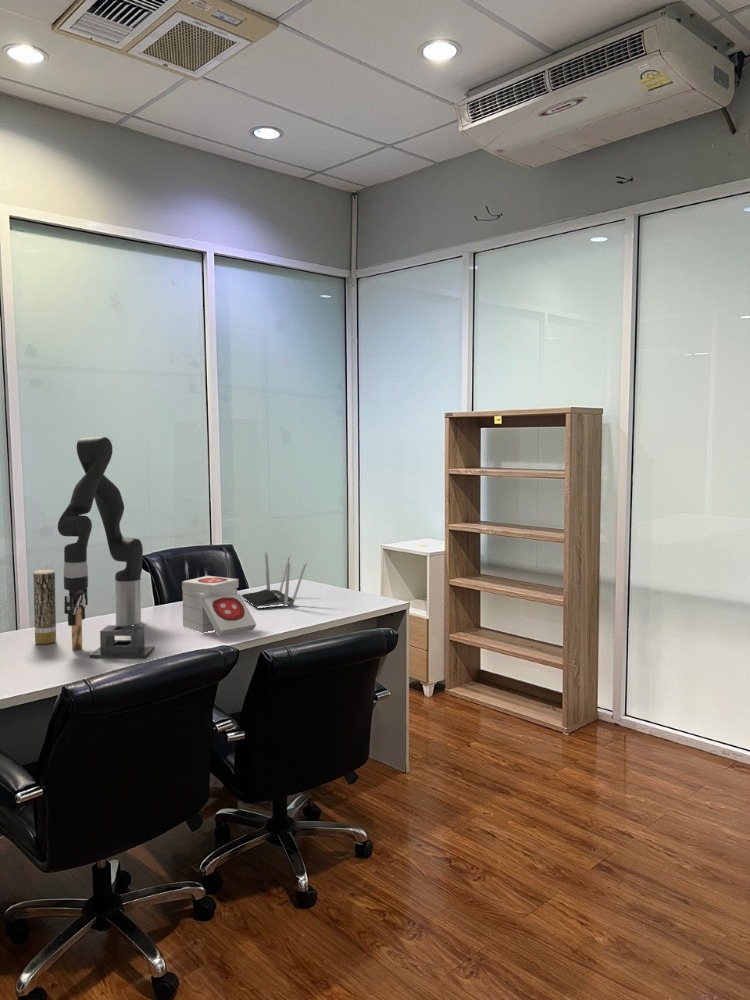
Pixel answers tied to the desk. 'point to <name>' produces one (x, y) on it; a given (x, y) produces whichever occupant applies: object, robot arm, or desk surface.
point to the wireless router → (274, 596)
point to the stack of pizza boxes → (215, 606)
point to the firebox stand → (122, 643)
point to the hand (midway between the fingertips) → (76, 622)
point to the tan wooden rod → (77, 630)
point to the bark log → (44, 606)
